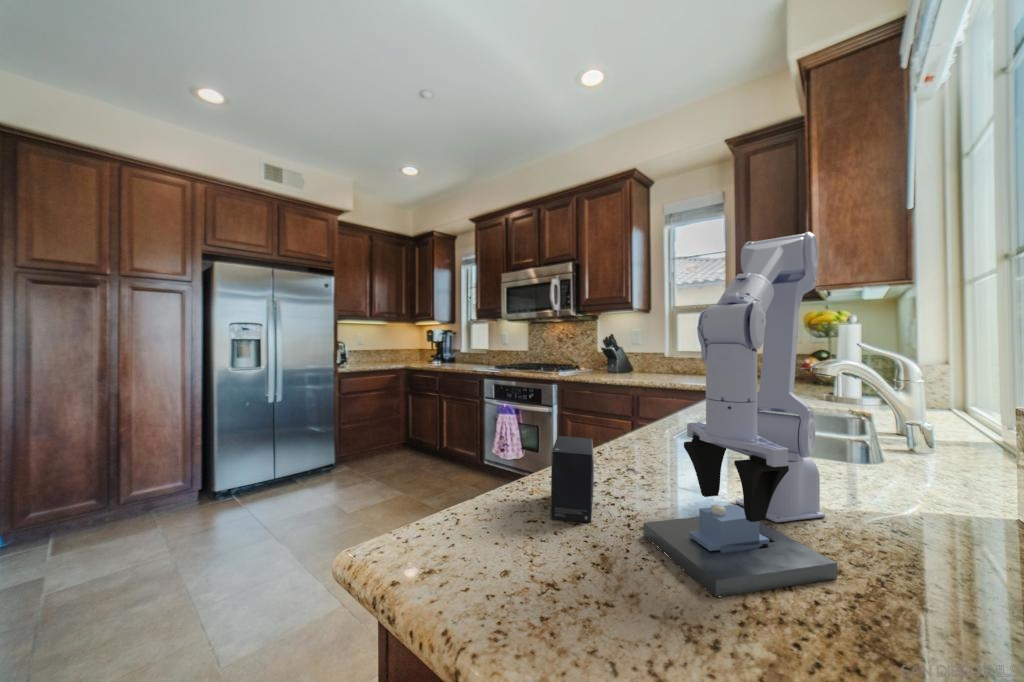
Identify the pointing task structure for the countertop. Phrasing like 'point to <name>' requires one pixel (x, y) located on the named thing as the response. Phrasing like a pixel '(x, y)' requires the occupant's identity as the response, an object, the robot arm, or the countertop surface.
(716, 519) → the servo
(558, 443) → the small box
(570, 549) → the countertop surface
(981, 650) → the countertop surface
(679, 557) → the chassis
